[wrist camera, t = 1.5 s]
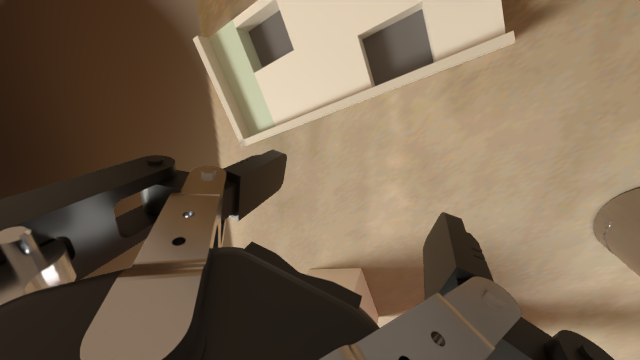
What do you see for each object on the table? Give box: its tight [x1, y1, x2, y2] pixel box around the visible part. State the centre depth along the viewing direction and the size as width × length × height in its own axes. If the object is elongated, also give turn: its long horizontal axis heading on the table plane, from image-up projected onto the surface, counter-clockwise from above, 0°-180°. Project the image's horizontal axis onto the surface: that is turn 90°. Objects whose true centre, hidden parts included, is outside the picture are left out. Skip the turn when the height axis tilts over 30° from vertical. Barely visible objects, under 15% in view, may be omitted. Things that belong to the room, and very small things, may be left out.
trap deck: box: [193, 0, 515, 147], centre depth 28 cm, size 34×16×5 cm, turn 112°
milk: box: [306, 268, 379, 324], centre depth 35 cm, size 12×12×26 cm
